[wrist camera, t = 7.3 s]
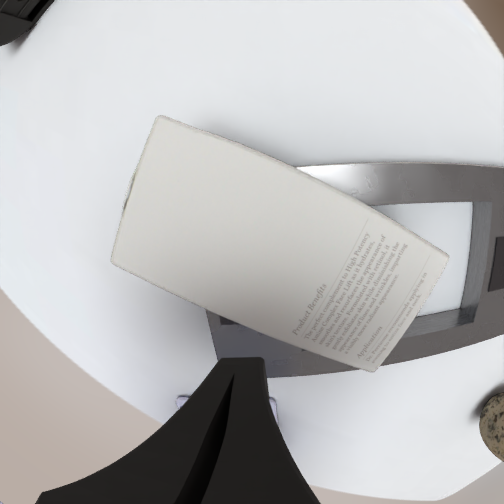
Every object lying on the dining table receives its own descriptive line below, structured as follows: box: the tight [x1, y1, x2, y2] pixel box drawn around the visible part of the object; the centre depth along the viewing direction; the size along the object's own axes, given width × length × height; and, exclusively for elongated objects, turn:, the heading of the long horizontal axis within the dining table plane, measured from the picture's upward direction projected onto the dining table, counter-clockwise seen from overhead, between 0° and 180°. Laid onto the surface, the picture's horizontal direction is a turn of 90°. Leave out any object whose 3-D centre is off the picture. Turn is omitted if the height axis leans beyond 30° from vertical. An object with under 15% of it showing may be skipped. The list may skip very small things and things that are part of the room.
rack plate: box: [206, 162, 504, 378], centre depth 14 cm, size 12×22×2 cm, turn 97°
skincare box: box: [111, 115, 449, 372], centre depth 11 cm, size 6×4×12 cm
